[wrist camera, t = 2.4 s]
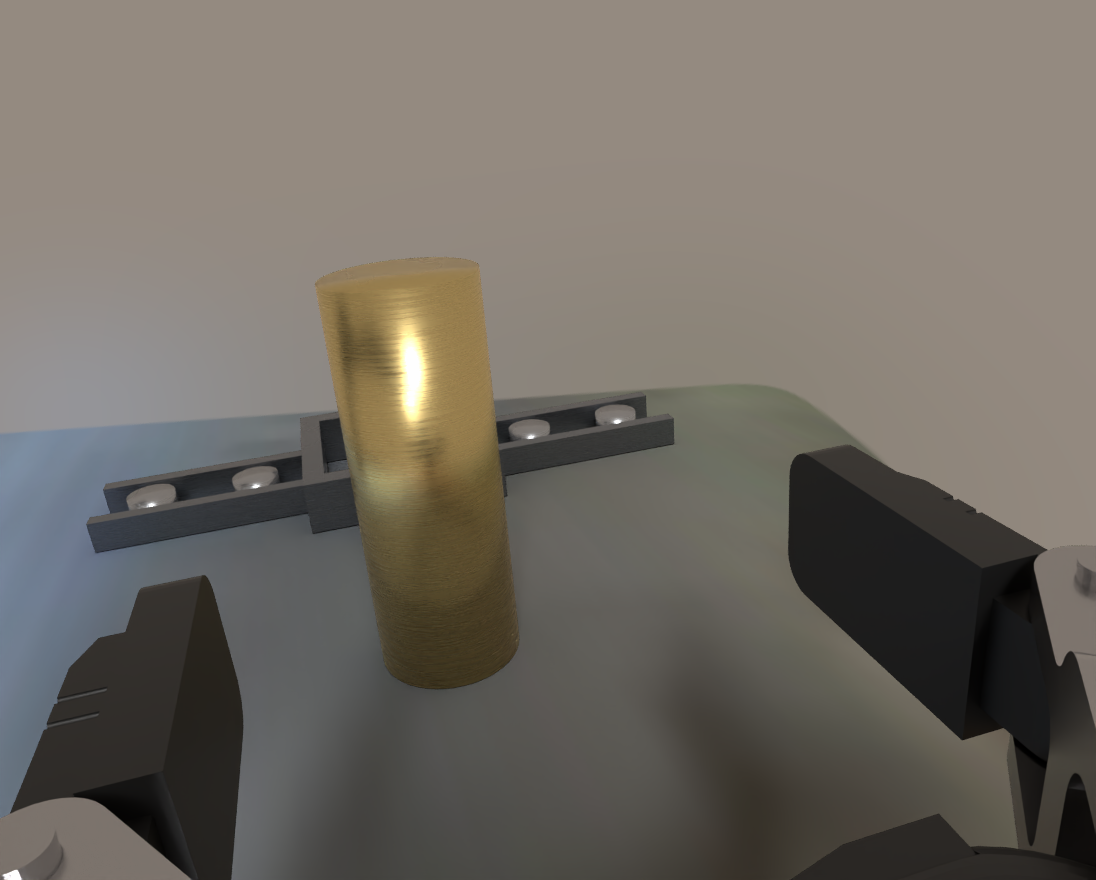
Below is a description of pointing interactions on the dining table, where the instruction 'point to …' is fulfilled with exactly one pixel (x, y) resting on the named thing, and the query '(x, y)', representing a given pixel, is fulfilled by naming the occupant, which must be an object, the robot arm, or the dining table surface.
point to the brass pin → (424, 464)
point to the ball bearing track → (328, 497)
